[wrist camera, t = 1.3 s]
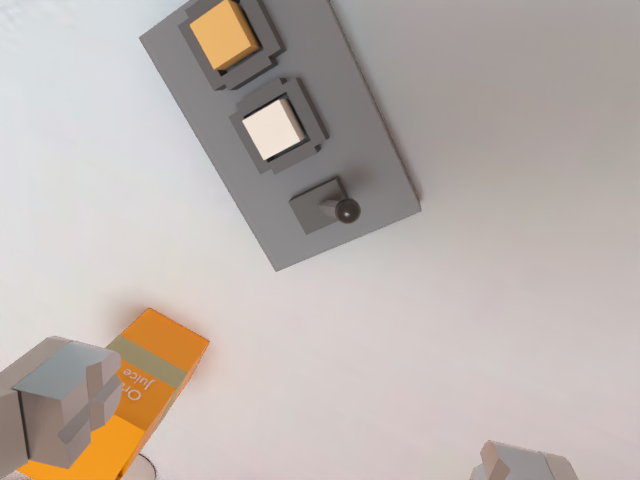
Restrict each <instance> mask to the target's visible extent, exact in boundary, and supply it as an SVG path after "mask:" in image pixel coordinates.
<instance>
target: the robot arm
mask: <svg viewBox="0 0 640 480" xmlns="http://www.w3.org/2000/svg"><path fill="white" fill-rule="evenodd" d="M120 367H121V356H120V354H119V353H117V352H116V351H112V350H109V349H105V348H101V347H97V346H94V345H90V344H86V343H82V342H79V341H73V340H69V339H65V338H62V337H58V336H52V337H48V338H46V339H45V340H43V341H42V342H41V343H39V344H38V345H37V346H35V347H34V348H33V349H31V350H30V351H29V352H27V353H26V354H25V355H23V356H22V357H21V358H19V359H18V360H16V361H15V362H14V363H12V364H11V365H10V366H8V367H7V368H6V369H4V370H3V371H2V372H0V479H1V478H3V477H5V476H6V475H8V474H10V473H12V472H13V471H15V470H17V469H18V468H20V467H22V466H24V465H25V464H27V463H28V460H30V461H34V462H39V463H43V464H47V465H52V466H56V467H60V468H65V469H69V468H70V467H71V466H72V464H73V463H74V462H75V461H76V460H77V458H78V457H79V456H80V455H81V454H82V452H83V451H84V450H85V449H86V448H87V446H88V445H89V444H90V443H91V432H92V431H94V430H96V429H98V428H100V427H102V426H105V425H106V423H107V422H108V421H109V419H110V418H111V417H112V416H113V414H114V412H115V410H116V408H117V406H118V404H119V402H120V398H121V393H122V382H121V380H120V379H119V377H118V376H117V375H116V372H117V371H118V370H119V368H120ZM480 454H481V458H482V462H483V463H482V464H481V465H479V466H477V467H475V468H474V469H473V472H472V474H471V477H470V480H579V479H578V478H577V476H576V474H575V472H574V470H573V468H572V466H571V464H570V462H569V461H568V460H567V459H566V458H565V457H562V456H557V455H553V454H548V453H544V452H540V451H539V452H537V451H534V450H530V449H525V448H521V447H517V446H512V445H508V444H504V443H499V442H495V441H491V440H488V441H487V442H486V443H485V444H484V446H483V448H482V450H481V453H480Z"/></svg>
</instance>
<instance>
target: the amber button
mask: <svg viewBox="0 0 640 480" xmlns="http://www.w3.org/2000/svg"><path fill="white" fill-rule="evenodd" d="M190 27H191V29H192V30H193V32H194V34H195V36H196V38H197V40H198V41H199V43H200V45H201V47H202V49H203V51H204V52H205V54H206V56H207V58H208V60H209V61H210V63H211V65H212V67H213V69H214V70H227V69H228V68H230V67H231V66H233V65H234V64H236V63H238V62H239V61H241V60H242V59H244V58H245V57H247V56H249V55H250V54H252V53H253V52H255V51H256V50H258V49H260V46H259V44H258V42H257V40H256V38H255V36H254V34H253V32H252V30H251V28H250V26H249V24H248V22H247V20H246V18H245V16H244V14H243V12H242V10H241V8H240V6H239V4H237V3H235V2H233V1H231V0H224V1H222V2H221V3H219V4H218V5H217V6H215V7H214V8H212V9H211V10H210V11H208V12H207V13H205V14H204V15H202V16H201V17H200V18H198V19H197V20H195V21H194V22H193V23H191V24H190Z"/></svg>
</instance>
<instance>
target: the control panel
mask: <svg viewBox="0 0 640 480" xmlns="http://www.w3.org/2000/svg"><path fill="white" fill-rule="evenodd" d="M222 1H224V0H190V1H188V2H187V3H185V4H184V5H183V6H181V7H180V8H179V9H177V10H176V11H175V12H173V13H172V14H170V15H169V16H168V17H166V18H165V19H164V20H162V21H161V22H160V23H158V24H157V25H155V26H154V27H153V28H151V29H150V30H149V31H147V32H146V33H144V34H143V35H142V36H140V37H139V39H140V41H141V43H142V44H143V46H144V48H145V49H146V51H147V53H148V55H149V56H150V58H151V60H152V61H153V63H154V65H155V67H156V68H157V70H158V72H159V73H160V75H161V77H162V78H163V80H164V82H165V84H166V85H167V87H168V89H169V90H170V92H171V94H172V96H173V97H174V99H175V101H176V102H177V104H178V106H179V107H180V109H181V111H182V113H183V114H184V116H185V118H186V119H187V121H188V123H189V125H190V126H191V128H192V130H193V131H194V133H195V135H196V137H197V138H198V140H199V142H200V143H201V145H202V147H203V148H204V150H205V152H206V154H207V155H208V157H209V159H210V160H211V162H212V164H213V166H214V167H215V169H216V171H217V172H218V174H219V176H220V177H221V179H222V181H223V183H224V184H225V186H226V188H227V189H228V191H229V193H230V195H231V196H232V198H233V200H234V201H235V203H236V205H237V206H238V208H239V210H240V212H241V213H242V215H243V217H244V218H245V220H246V222H247V224H248V225H249V227H250V229H251V230H252V232H253V234H254V235H255V237H256V239H257V241H258V242H259V244H260V246H261V247H262V249H263V251H264V253H265V254H266V256H267V258H268V259H269V261H270V263H271V264H272V266H273V268H274V270H275V271H276V272H277V271H280V270H282V269H284V268H287V267H289V266H292V265H294V264H296V263H299V262H301V261H303V260H306V259H308V258H311V257H313V256H315V255H318V254H320V253H323V252H325V251H327V250H330V249H332V248H335V247H337V246H339V245H342V244H344V243H347V242H349V241H351V240H354V239H356V238H358V237H361V236H363V235H366V234H368V233H370V232H373V231H375V230H378V229H380V228H382V227H385V226H387V225H390V224H392V223H394V222H397V221H399V220H402V219H404V218H406V217H409V216H411V215H413V214H416V213H418V212H421V206H420V201H419V199H418V197H417V195H416V192H415V190H414V188H413V186H412V184H411V181H410V179H409V177H408V175H407V173H406V170H405V168H404V166H403V164H402V161H401V159H400V157H399V155H398V153H397V150H396V148H395V146H394V144H393V142H392V139H391V137H390V135H389V133H388V131H387V128H386V126H385V124H384V122H383V119H382V117H381V115H380V113H379V111H378V108H377V106H376V104H375V102H374V100H373V97H372V95H371V93H370V91H369V88H368V86H367V84H366V82H365V80H364V77H363V75H362V73H361V71H360V69H359V66H358V64H357V62H356V60H355V58H354V55H353V53H352V51H351V49H350V46H349V44H348V42H347V40H346V38H345V35H344V33H343V31H342V29H341V27H340V24H339V22H338V20H337V18H336V15H335V13H334V11H333V9H332V7H331V4H330V2H329V0H231V1H233V2H235V3H237V4H239V6H240V8H241V10H242V12H243V14H244V16H245V18H246V20H247V22H248V24H249V26H250V28H251V30H252V32H253V34H254V36H255V38H256V40H257V42H258V44H259V46H260V49H258V50H256V51H255V52H253V53H252V54H250V55H249V56H247V57H245V58H244V59H242V60H241V61H239V62H238V63H236V64H234V65H233V66H231V67H230V68H228V69H227V70H214V69H213V67H212V65H211V63H210V61H209V60H208V58H207V56H206V54H205V52H204V51H203V49H202V47H201V45H200V43H199V41H198V40H197V38H196V36H195V34H194V32H193V30H192V29H191V27H190V24H191V23H193V22H194V21H195V20H197V19H198V18H200V17H201V16H202V15H204V14H205V13H207V12H208V11H210V10H211V9H212V8H214V7H215V6H217V5H218V4H219V3H221V2H222ZM285 98H287V100H288V102H289V104H290V106H291V108H292V110H293V112H294V114H295V116H296V118H297V120H298V122H299V124H300V126H301V128H302V130H303V132H304V134H305V136H306V138H304V139H303V140H301V141H299V142H298V143H296V144H294V145H292V146H290V147H288V148H286V149H284V150H282V151H281V152H279V153H277V154H275V155H273V156H271V157H269V158H267V159H265V160H263V158H262V156H261V154H260V153H259V151H258V149H257V147H256V145H255V144H254V142H253V140H252V138H251V136H250V134H249V133H248V131H247V129H246V127H245V125H244V123H243V122H242V121H243V120H245V119H246V118H248V117H250V116H251V115H253V114H255V113H257V112H258V111H260V110H262V109H264V108H265V107H267V106H269V105H270V104H272V103H274V102H276V101H277V100H280V99H285ZM345 198H351V199H354V200H355V201H357V202H358V204H359V205H360V208H361V215H360V217H359V219H358V220H357V221H356V222H354V223H352V224H343V223H341V222H340V221H339V220H338V219H337V218H334V217H330V216H326V215H323V214H322V212H321V210H320V208H319V206H318V205H319V204H321V203H322V202H324V201H326V200H335V201H340V200H342V199H345Z"/></svg>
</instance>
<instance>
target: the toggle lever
mask: <svg viewBox="0 0 640 480" xmlns="http://www.w3.org/2000/svg"><path fill="white" fill-rule="evenodd" d="M318 206H319V208H320V210H321V212H322V214H323V215H326V216H330V217H334V218H337V219H338V220H339V221H340V222H341V223H343V224H352V223H354V222H356V221H357V220H358V219H359V217H360V215H361V208H360V205H359V204H358V202H357V201H355V200H354V199H351V198H345V199H342V200H340V201H335V200H326V201H324V202H322V203H321V204H319V205H318Z"/></svg>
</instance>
